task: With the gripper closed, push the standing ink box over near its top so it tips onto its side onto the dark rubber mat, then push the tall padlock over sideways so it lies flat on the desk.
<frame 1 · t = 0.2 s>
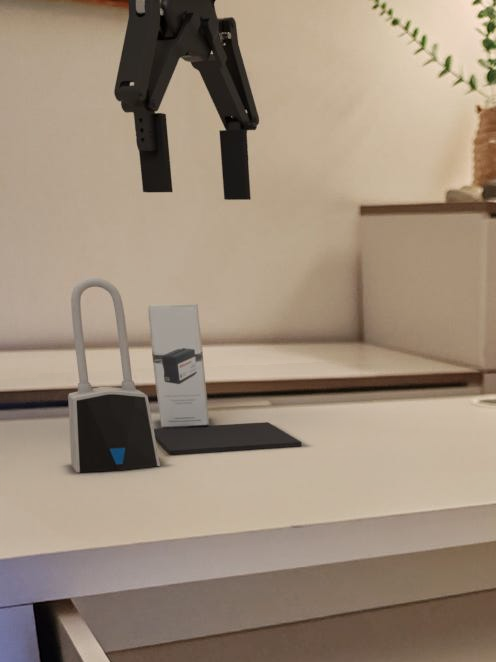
hand: (200, 196, 102), 22 cm above the table, tool pointing down, fingers open, 13 cm apart
ink box: (184, 425, 107), on the table, touching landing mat
padlock: (116, 468, 87), on the table
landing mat: (223, 439, 100), on the table
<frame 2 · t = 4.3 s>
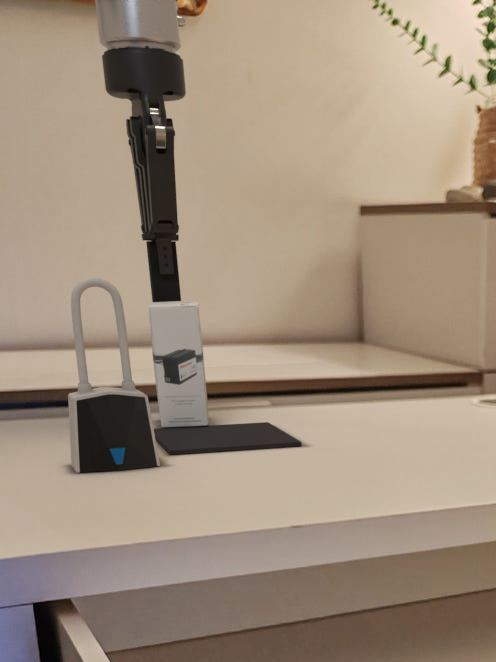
hand: (167, 307, 108), 11 cm above the table, tool pointing down, fingers closed
ink box: (184, 423, 107), on the table, touching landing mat
everything else where it was.
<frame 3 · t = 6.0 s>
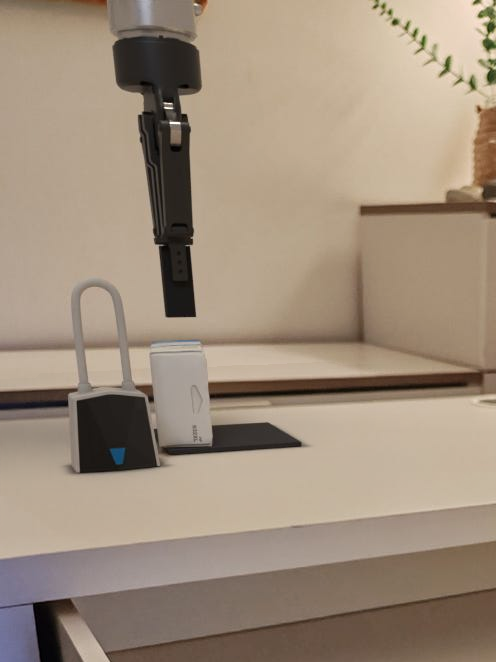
hand: (180, 316, 101), 11 cm above the table, tool pointing down, fingers closed
ink box: (180, 384, 102), point 5 cm above the table, touching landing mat
everything else where it was.
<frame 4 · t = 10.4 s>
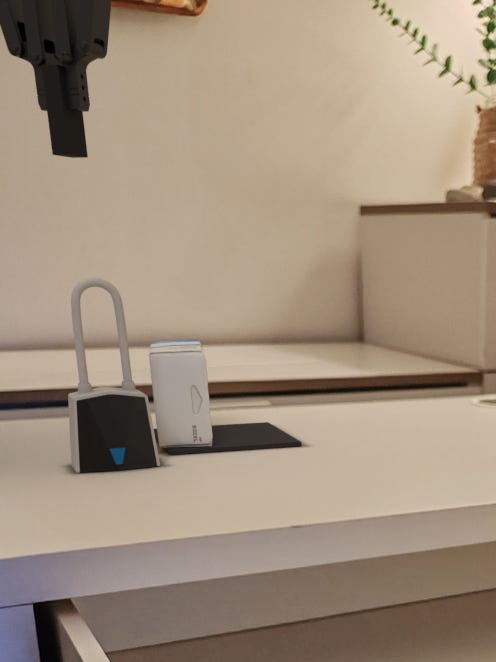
hand: (70, 155, 86), 24 cm above the table, tool pointing down, fingers closed
nothing on the table moved.
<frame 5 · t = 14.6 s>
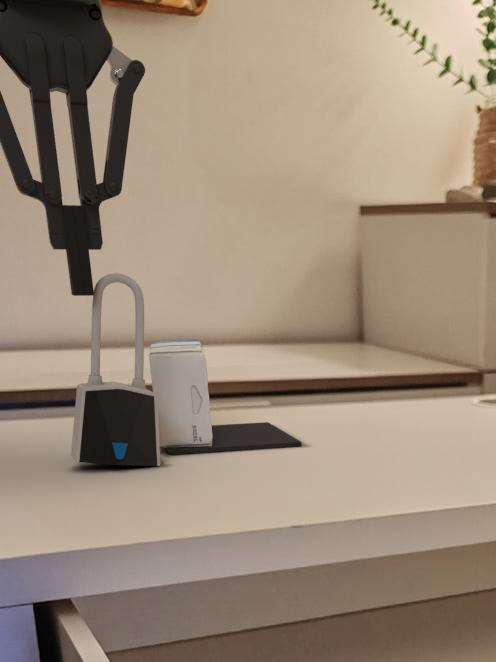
hand: (82, 294, 81), 14 cm above the table, tool pointing down, fingers closed
padlock: (115, 463, 87), on the table, touching gripper
everything else where it was.
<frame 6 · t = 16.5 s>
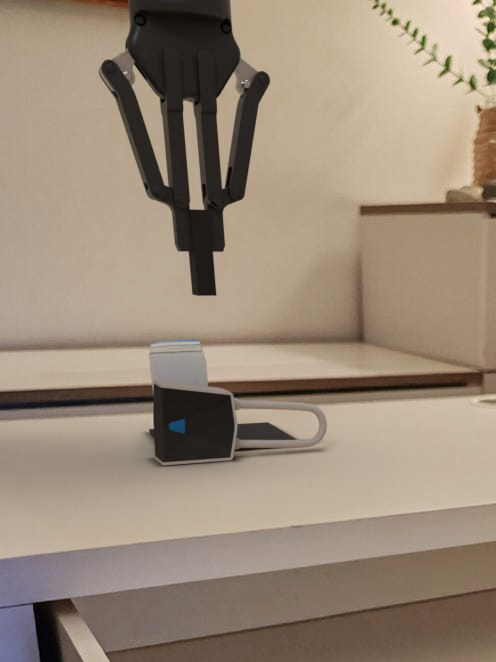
hand: (204, 294, 85), 14 cm above the table, tool pointing down, fingers closed
padlock: (155, 422, 87), point 3 cm above the table
everything else where it was.
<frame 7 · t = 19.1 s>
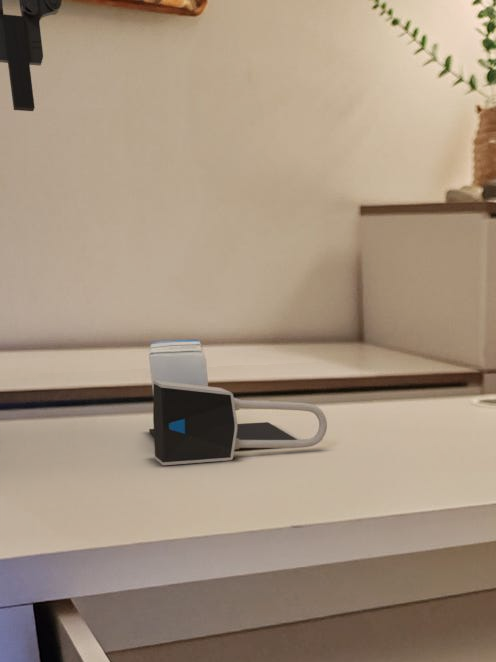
hand: (24, 108, 85), 28 cm above the table, tool pointing down, fingers closed
nothing on the table moved.
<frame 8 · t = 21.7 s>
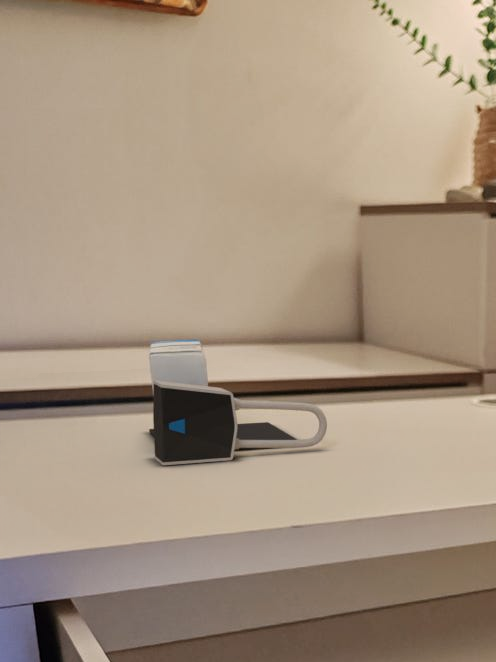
nothing on the table moved.
at the end: ink box tilted 90°; padlock tilted 95° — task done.
